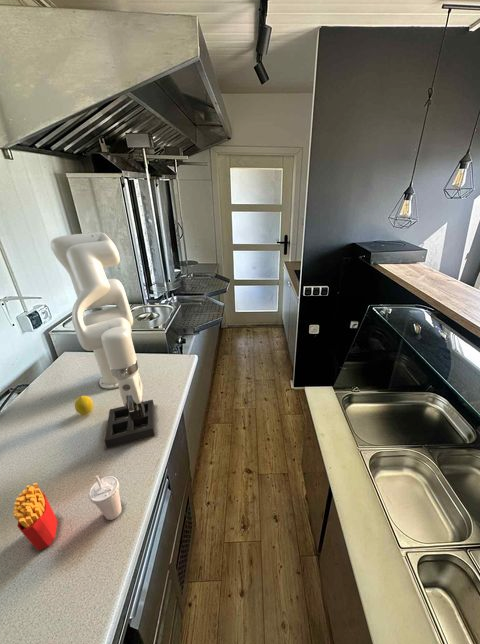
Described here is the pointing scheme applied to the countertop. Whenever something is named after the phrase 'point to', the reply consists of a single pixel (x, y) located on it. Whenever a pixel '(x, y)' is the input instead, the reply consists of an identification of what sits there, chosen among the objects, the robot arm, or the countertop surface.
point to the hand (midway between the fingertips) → (137, 413)
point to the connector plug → (140, 408)
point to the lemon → (84, 405)
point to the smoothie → (106, 496)
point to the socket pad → (129, 426)
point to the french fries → (35, 517)
